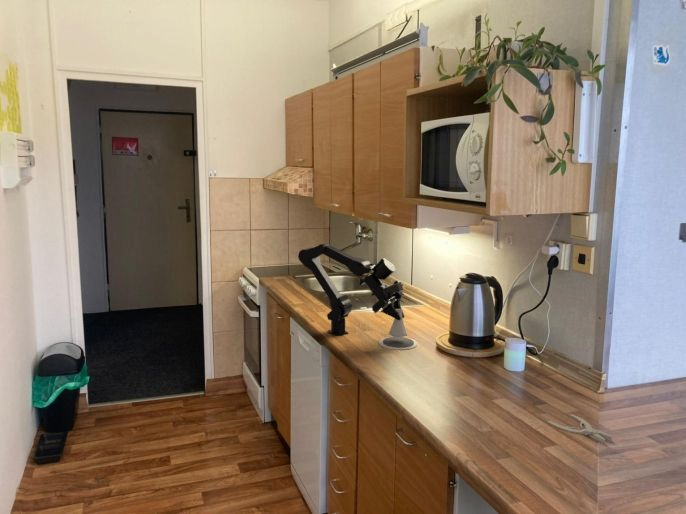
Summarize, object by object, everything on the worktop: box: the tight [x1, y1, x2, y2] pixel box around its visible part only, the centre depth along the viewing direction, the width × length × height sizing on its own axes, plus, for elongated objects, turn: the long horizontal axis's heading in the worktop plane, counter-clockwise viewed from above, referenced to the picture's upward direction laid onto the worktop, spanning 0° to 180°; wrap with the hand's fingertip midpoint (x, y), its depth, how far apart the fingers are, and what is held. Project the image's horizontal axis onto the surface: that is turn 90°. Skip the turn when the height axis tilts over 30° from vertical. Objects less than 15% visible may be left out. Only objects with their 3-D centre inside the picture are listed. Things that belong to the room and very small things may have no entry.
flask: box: [388, 308, 408, 337], centre depth 217 cm, size 7×7×10 cm
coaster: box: [378, 336, 419, 351], centre depth 218 cm, size 15×15×1 cm
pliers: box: [547, 413, 613, 445], centre depth 149 cm, size 10×2×15 cm
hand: (401, 318), depth 216 cm, fingers closed on flask, 3 cm apart
